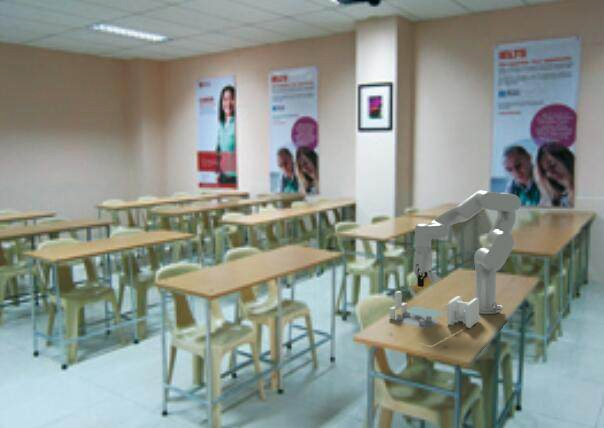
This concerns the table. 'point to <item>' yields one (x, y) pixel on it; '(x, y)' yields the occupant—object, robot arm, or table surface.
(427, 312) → the mat
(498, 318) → the table surface
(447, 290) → the table surface
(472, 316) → the cable organizer
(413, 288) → the grey orange bar
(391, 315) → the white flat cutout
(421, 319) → the board
